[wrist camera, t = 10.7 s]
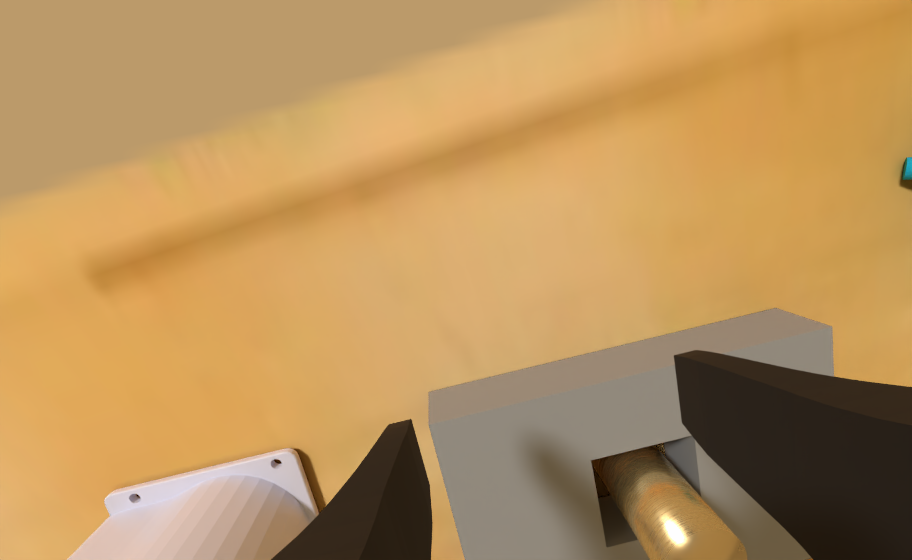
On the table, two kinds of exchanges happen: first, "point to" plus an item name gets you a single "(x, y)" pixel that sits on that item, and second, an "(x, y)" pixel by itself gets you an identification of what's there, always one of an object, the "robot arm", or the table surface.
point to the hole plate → (600, 443)
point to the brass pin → (665, 509)
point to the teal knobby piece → (907, 169)
